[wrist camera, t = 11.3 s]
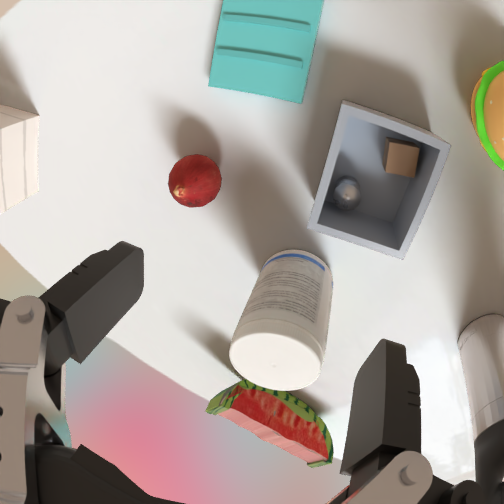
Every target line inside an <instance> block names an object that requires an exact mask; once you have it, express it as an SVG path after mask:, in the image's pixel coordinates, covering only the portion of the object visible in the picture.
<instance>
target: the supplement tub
mask: <svg viewBox="0 0 504 504" xmlns="http://www.w3.org/2000/svg"><path fill="white" fill-rule="evenodd" d="M332 292H333V278H332V274H331V272H330V270H329V268H328V266H327V265H326V264H325V263H324V262H323V261H322V260H321V259H320V258H318V257H317V256H315V255H313V254H311V253H309V252H306V251H303V250H285V251H281V252H279V253H277V254H275V255H273V256H272V257H270V258H269V259H268V260H267V261H266V263H265V264H264V266H263V268H262V270H261V272H260V275H259V277H258V279H257V281H256V284H255V286H254V288H253V291H252V293H251V295H250V297H249V300H248V302H247V304H246V307H245V309H244V311H243V313H242V316H241V318H240V320H239V322H238V325H237V327H236V330H235V332H234V335H233V338H232V343H231V345H230V349H229V358H230V361H231V363H232V365H233V367H234V368H235V369H236V370H237V372H238V373H239V374H241V375H242V376H243V377H244V378H246V379H247V380H249V381H250V382H252V383H254V384H256V385H259V386H261V387H264V388H268V389H272V390H280V391H291V390H297V389H301V388H304V387H307V386H309V385H310V384H312V383H313V382H314V381H315V380H316V379H317V378H318V376H319V374H320V371H321V367H322V365H323V362H324V356H325V349H326V343H327V335H328V327H329V319H330V311H331V302H332Z"/></svg>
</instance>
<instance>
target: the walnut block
mask: <svg viewBox="0 0 504 504" xmlns="http://www.w3.org/2000/svg"><path fill="white" fill-rule="evenodd" d="M418 154H419V147H418V146H417V145H416V144H415V143H414V142H410V141H405V140H400V139H394V138H389V137H386V140H385V148H384V155H383V162H382V165H383V168H384V170H385V172H387V173H392V174H398V175H403V176H408V177H413V178H414V177H415V171H416V166H417V160H418Z"/></svg>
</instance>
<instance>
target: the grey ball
mask: <svg viewBox="0 0 504 504" xmlns="http://www.w3.org/2000/svg"><path fill="white" fill-rule="evenodd" d="M333 200H334V203H335V204H336V206H337V207H339V208H340V209H342V210H346V211H349V210H353V209H355V208H356V207H357V206H358V205H359V204H360V201H361V192H360V185H359V182H358V181H357V180H356V179H355V178H354V177H352V176H348V175H346V176H342V177H340V178H339V179H338V180H337V181H336V183H335V186H334V194H333Z"/></svg>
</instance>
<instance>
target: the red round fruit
mask: <svg viewBox="0 0 504 504" xmlns="http://www.w3.org/2000/svg"><path fill="white" fill-rule="evenodd" d="M221 180H222V178H221V174H220V170H219V168H218V167H217V165H216V164H215V162H213V161H212V160H211V159H209V158H208V157H207V156H203V155H199V154H195V155H189V156H186V157H184V158H182V159H181V160H179V161H178V162H177V163H176V164H175V165H174V167H173V168H172V170H171V172H170V174H169V182H168V185H169V190H170V193H171V194H172V196H173V198H174V199H175V200H176V201H177V202H178V203H180V204H181V205H184V206H187V207H202V206H204V205H206V204H208V203H209V202H211V201H212V200H214V199H215V197H216V195H217V194H218V192H219V190H220V187H221Z"/></svg>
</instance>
